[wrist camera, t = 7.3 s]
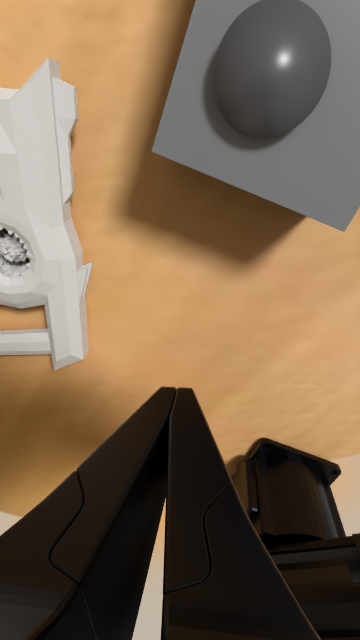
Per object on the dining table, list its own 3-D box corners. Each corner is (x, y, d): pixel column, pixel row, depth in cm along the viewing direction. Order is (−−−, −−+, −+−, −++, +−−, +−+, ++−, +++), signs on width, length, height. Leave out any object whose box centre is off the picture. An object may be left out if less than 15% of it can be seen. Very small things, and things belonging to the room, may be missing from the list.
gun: (-180, 32, 13) (63, 54, 13) (-107, 49, 16) (93, 67, 16) (-56, 380, 23) (88, 400, 22) (-24, 350, 26) (104, 368, 25)
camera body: (495, -114, 12) (689, -301, 7) (316, 211, 17) (353, 236, 12) (287, -219, 11) (336, -503, 6) (169, 151, 17) (148, 151, 12)
